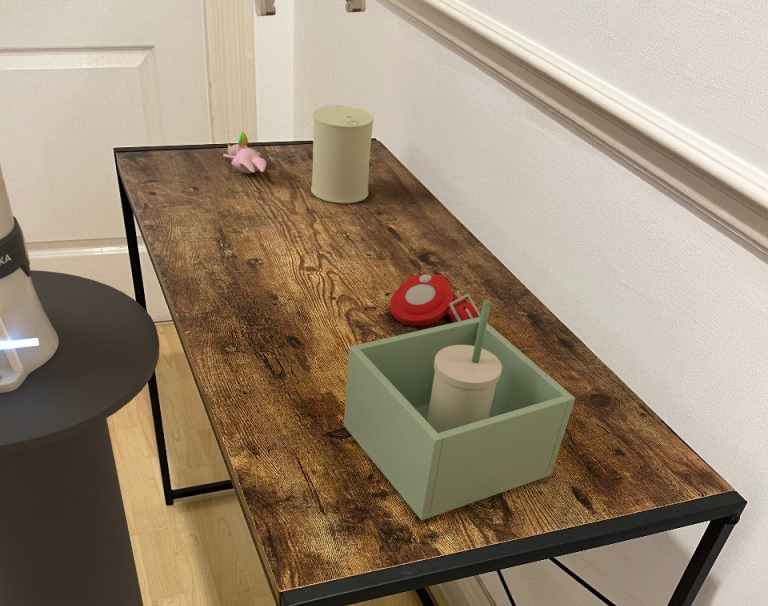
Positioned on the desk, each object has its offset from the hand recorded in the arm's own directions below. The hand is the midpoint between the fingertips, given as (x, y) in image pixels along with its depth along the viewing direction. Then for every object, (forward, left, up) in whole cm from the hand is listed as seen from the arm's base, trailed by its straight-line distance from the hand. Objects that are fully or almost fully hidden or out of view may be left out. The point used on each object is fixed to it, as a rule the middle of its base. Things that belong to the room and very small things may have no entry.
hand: (312, 14), depth 76 cm
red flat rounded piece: (+14, -8, -32) cm, 36 cm away
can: (+21, +31, -32) cm, 49 cm away
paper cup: (+2, -31, -31) cm, 44 cm away
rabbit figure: (+10, +43, -32) cm, 54 cm away
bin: (+1, -31, -32) cm, 45 cm away
